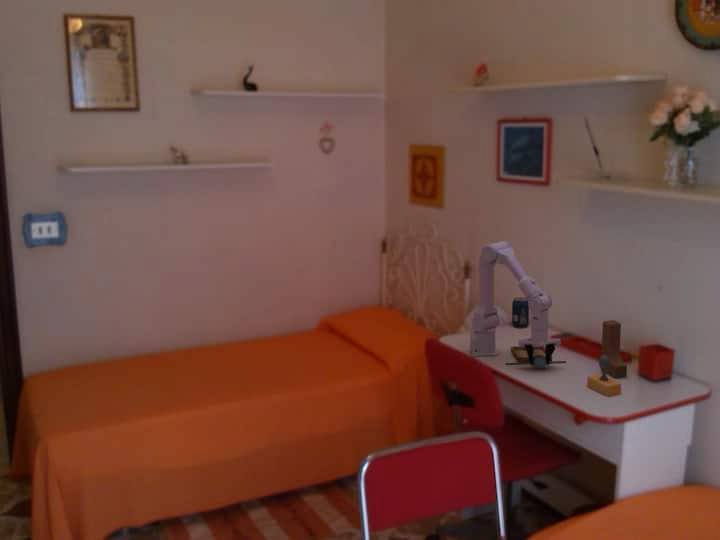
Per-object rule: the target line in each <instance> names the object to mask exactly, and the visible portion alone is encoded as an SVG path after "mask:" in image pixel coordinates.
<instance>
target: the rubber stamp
mask: <svg viewBox="0 0 720 540" xmlns="http://www.w3.org/2000/svg"><path fill="white" fill-rule="evenodd" d="M599 357H600V358H598V359H599V360H598V364H599V369H600V371H601V373H597V374H592V375H587V378H586V379H587V381H586V383H587V384H586V386H587V387H588V388H590V389H591V390H594V391H595V392H598V393H600V394H601V395H604V396H605V397H612V396H617V395H621V394H622V392H621V391H622V383H621V382H620V381H617V380H615V379H613V378H612V377H609V376H607V373H606V372H607V370H608V368H609V365H610V359H609V357H608V356H606V355H603V356H602V355H601V356H599Z"/></svg>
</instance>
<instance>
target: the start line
mask: <svg viewBox="0 0 720 540" xmlns="http://www.w3.org/2000/svg"><path fill="white" fill-rule="evenodd" d="M550 364H567V361H566V360H560V361H559V360H557V361H553V360H552V361H549V365H550ZM512 365H514V366H515V365H517V366H518V365H519V366H520V365H530V362H506V363H505V366H512Z"/></svg>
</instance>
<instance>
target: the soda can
mask: <svg viewBox="0 0 720 540" xmlns="http://www.w3.org/2000/svg"><path fill="white" fill-rule="evenodd" d="M511 303H512V304H511V324H512V326H513V327H514V328H517V329H524V328H528V326H529V323H530V321H529V320H530V319H529V318H530V311H529V310H530V309H529V307H528V303H529V301H528V300H527V298H526V297H519V296H518V297H514V298H513V301H512V302H511Z"/></svg>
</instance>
